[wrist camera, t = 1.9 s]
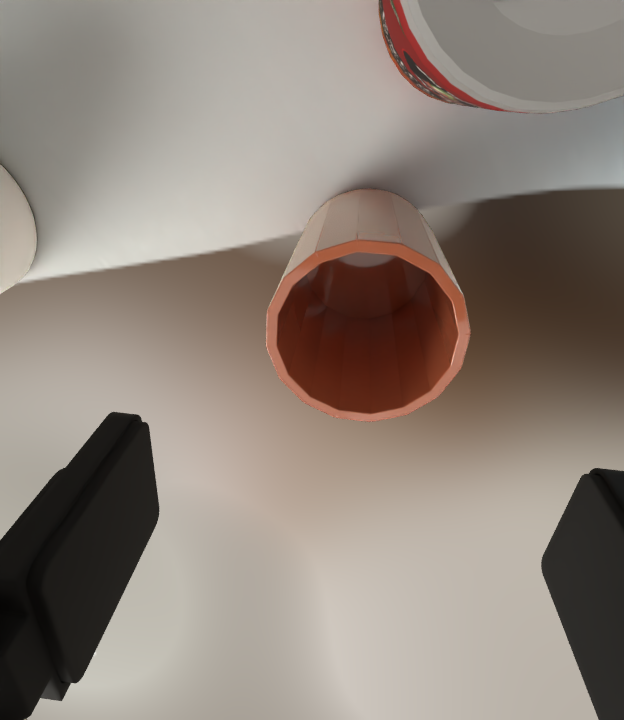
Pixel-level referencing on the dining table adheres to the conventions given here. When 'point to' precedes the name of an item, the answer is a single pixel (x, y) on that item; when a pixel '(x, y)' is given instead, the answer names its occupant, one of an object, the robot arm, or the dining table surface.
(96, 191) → the dining table surface
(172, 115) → the dining table surface
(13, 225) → the cup
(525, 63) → the canned food
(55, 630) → the robot arm
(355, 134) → the dining table surface
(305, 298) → the terracotta cup
